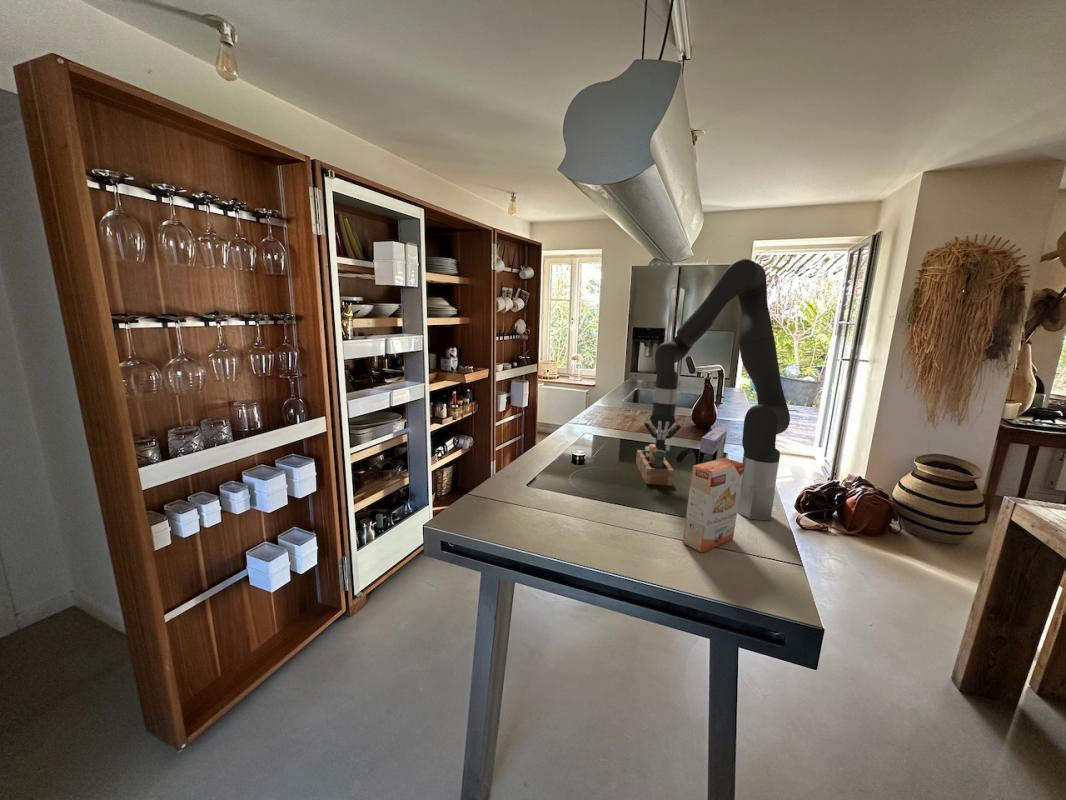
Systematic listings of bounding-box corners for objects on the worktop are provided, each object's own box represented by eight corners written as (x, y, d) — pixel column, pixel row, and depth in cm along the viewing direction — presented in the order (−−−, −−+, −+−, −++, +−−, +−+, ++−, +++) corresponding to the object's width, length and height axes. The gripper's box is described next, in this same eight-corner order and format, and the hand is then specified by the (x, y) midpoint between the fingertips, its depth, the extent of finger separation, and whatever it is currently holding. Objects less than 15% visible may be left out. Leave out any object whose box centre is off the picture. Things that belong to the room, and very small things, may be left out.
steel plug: (656, 468, 159) (658, 450, 158) (644, 467, 160) (646, 449, 158) (654, 464, 164) (656, 446, 163) (642, 463, 164) (644, 445, 163)
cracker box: (702, 554, 100) (713, 472, 97) (681, 543, 105) (690, 464, 101) (735, 540, 108) (746, 463, 104) (714, 530, 113) (723, 456, 109)
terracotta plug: (661, 467, 152) (663, 448, 151) (648, 466, 152) (650, 447, 151) (658, 463, 157) (660, 444, 155) (646, 462, 157) (648, 443, 156)
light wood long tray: (672, 485, 144) (673, 470, 143) (645, 483, 145) (646, 468, 144) (659, 464, 166) (660, 451, 165) (636, 463, 166) (637, 449, 165)
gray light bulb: (665, 474, 145) (667, 453, 144) (651, 473, 146) (653, 453, 144) (662, 469, 150) (664, 450, 148) (649, 468, 150) (651, 449, 149)
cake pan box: (707, 490, 142) (714, 439, 138) (692, 486, 144) (698, 436, 141) (721, 475, 157) (727, 429, 154) (707, 472, 160) (713, 427, 156)
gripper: (646, 401, 140) (641, 451, 143) (687, 404, 139) (681, 454, 142) (643, 397, 147) (638, 444, 151) (681, 400, 146) (676, 447, 149)
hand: (659, 449), depth 146 cm, fingers closed
